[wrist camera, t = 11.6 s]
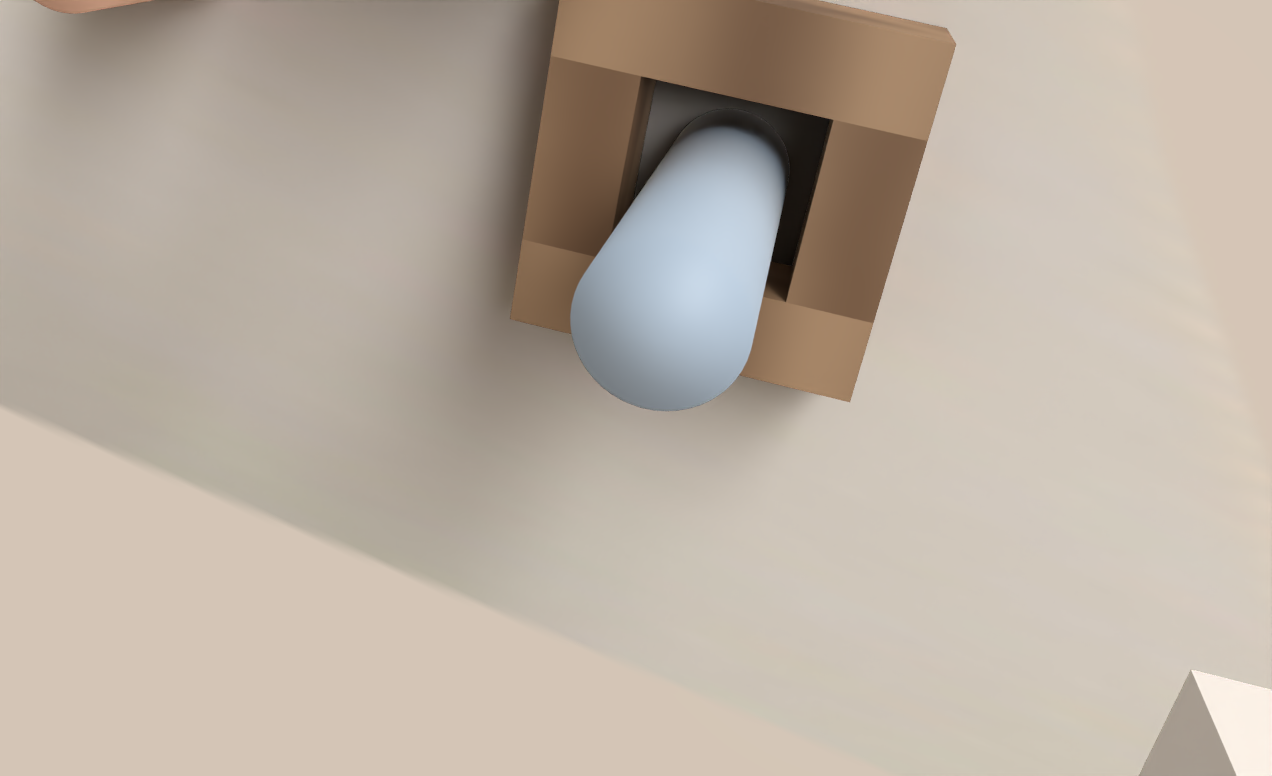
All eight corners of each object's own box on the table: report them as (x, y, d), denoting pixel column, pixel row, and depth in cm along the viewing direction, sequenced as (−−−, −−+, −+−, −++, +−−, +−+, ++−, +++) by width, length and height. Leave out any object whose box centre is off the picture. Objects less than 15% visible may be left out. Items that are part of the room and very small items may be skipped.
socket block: (538, 282, 33) (509, 318, 31) (592, -50, 30) (565, -42, 27) (850, 358, 33) (849, 402, 30) (947, 28, 29) (956, 44, 26)
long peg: (657, 212, 32) (555, 385, 21) (682, 96, 31) (588, 216, 20) (772, 241, 32) (729, 430, 21) (803, 125, 30) (774, 263, 20)
